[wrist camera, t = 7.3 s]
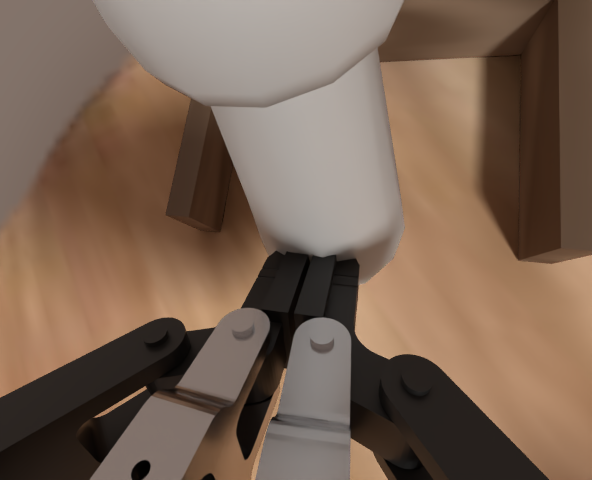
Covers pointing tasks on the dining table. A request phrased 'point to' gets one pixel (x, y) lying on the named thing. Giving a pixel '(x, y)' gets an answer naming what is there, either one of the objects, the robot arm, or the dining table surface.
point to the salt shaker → (287, 110)
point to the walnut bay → (533, 114)
